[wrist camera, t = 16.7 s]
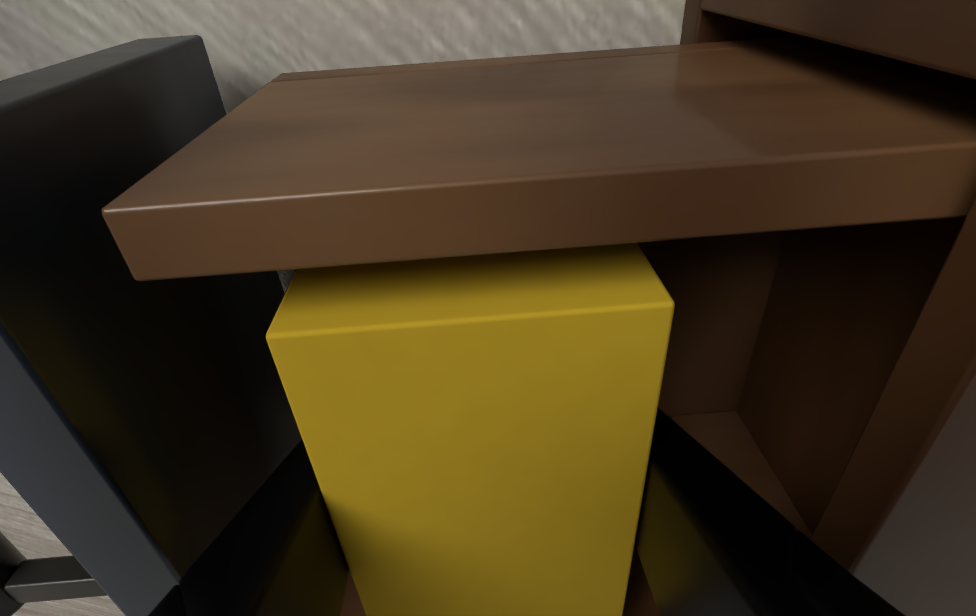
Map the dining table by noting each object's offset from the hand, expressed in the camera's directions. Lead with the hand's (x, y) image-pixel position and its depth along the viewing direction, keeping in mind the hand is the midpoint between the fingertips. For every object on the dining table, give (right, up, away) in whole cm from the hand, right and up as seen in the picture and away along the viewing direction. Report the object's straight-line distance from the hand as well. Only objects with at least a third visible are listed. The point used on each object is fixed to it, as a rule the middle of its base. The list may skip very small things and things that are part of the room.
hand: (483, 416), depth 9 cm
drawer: (-2, +2, +4) cm, 5 cm away
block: (0, +1, +1) cm, 1 cm away
